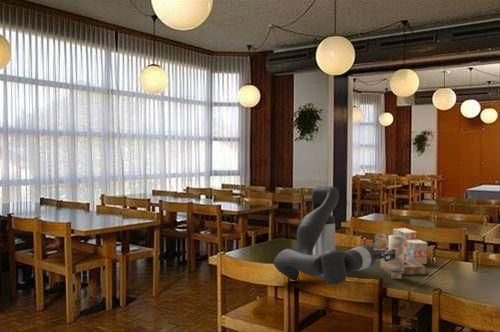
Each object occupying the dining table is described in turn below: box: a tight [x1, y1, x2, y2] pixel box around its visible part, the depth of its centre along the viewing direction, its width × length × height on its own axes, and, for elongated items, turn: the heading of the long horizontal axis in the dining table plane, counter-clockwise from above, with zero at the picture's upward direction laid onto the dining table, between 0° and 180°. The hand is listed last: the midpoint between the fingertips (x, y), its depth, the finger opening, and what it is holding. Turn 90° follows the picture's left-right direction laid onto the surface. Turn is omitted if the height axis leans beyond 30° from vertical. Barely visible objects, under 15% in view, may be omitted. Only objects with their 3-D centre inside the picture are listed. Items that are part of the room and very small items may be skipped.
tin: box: [372, 232, 389, 251], centre depth 227 cm, size 15×3×8 cm, turn 13°
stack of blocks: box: [392, 227, 428, 265], centre depth 212 cm, size 21×6×12 cm, turn 6°
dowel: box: [388, 234, 404, 280], centre depth 180 cm, size 6×6×16 cm
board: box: [379, 260, 426, 276], centre depth 191 cm, size 14×12×3 cm
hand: (383, 250), depth 171 cm, fingers open, 8 cm apart
